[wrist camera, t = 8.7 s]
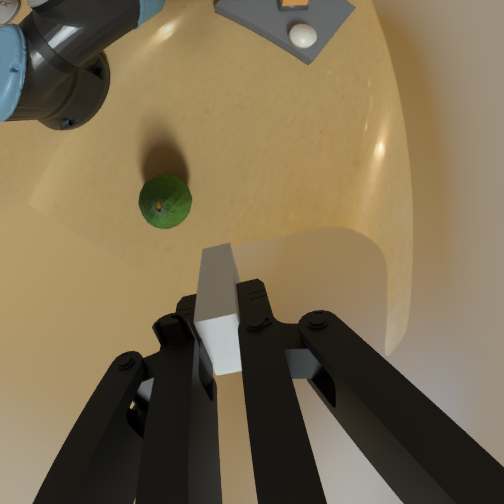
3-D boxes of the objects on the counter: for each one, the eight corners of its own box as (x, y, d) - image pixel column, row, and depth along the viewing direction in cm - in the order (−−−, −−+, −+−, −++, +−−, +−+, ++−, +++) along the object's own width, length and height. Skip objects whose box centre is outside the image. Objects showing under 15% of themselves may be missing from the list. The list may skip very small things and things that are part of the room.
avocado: (204, 193, 46) (199, 211, 35) (173, 227, 48) (159, 255, 36) (168, 160, 43) (150, 168, 32) (138, 196, 45) (114, 215, 34)
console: (215, 12, 34) (214, 5, 31) (264, -38, 30) (266, -46, 27) (307, 65, 39) (313, 61, 36) (349, 12, 35) (355, 7, 32)
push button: (291, 50, 35) (294, 46, 34) (285, 28, 34) (288, 24, 32) (315, 48, 36) (319, 44, 34) (309, 27, 34) (313, 23, 32)
